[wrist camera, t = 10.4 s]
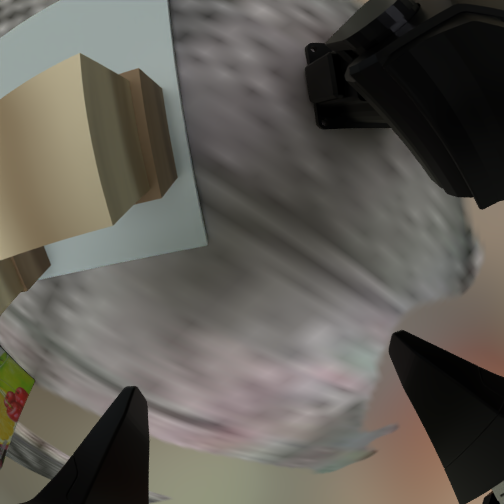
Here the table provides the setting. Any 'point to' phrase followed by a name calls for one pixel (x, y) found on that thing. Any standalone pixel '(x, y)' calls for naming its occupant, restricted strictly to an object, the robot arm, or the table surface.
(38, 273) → the tower
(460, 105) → the robot arm
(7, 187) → the maple block
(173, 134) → the board
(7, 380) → the snack box
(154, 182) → the walnut block
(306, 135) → the table surface
